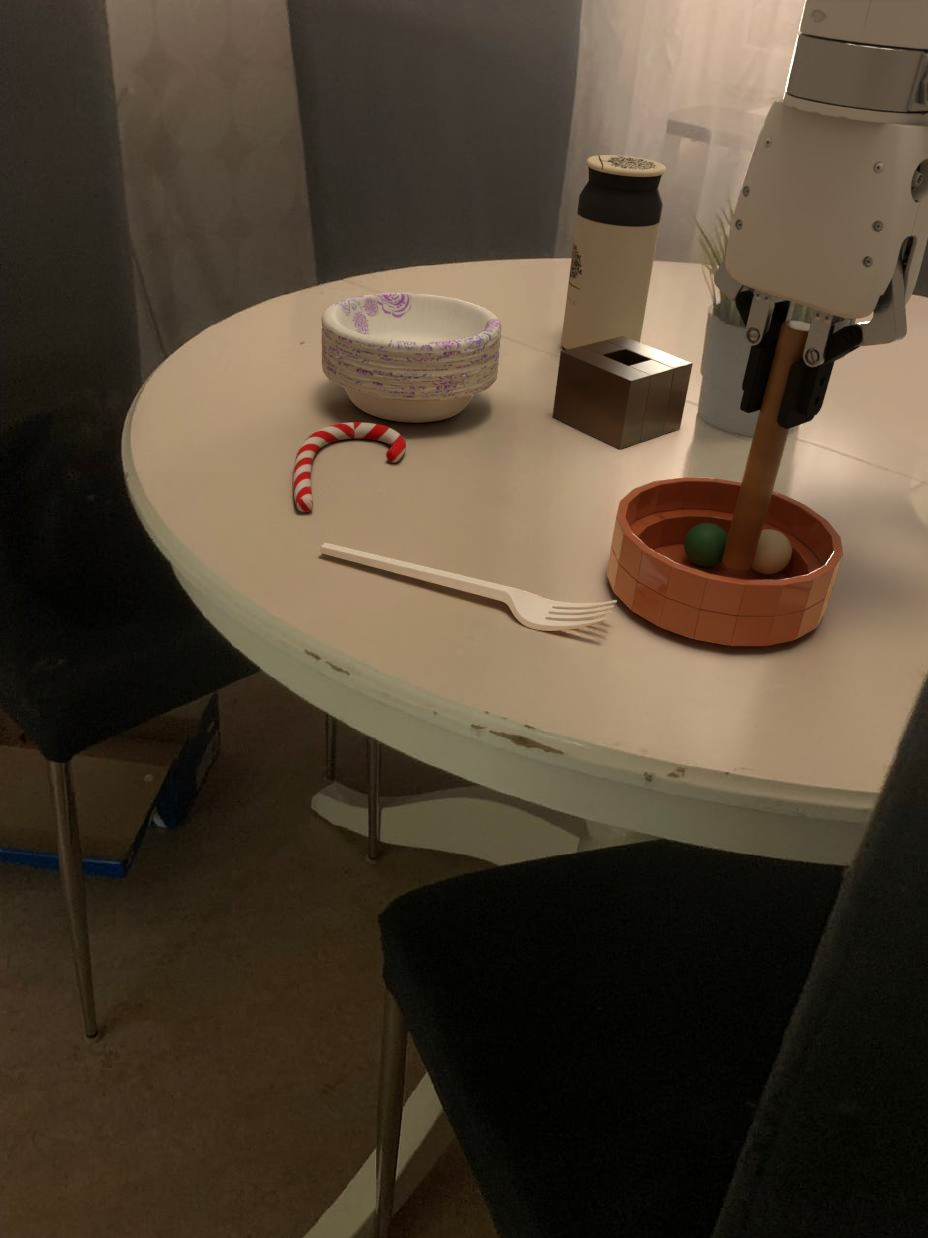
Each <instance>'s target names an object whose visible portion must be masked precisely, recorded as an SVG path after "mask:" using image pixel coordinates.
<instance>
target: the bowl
mask: <svg viewBox="0 0 928 1238" xmlns="http://www.w3.org/2000/svg"><path fill="white" fill-rule="evenodd" d="M741 483H742V481H736V480H730V479H729V480H728V479H723V478H716V477H691V476H690V477H689V476H682V477H675V478H674V477H673V478H666V479H659V480H653V481H651V482H648V483H646V484H642V485H640V486H637V487H635V488H633V489H632V490H631V491H630V492H628V493H627V494H626V495H625V496H624V497H623V498H622V499H621V500H619V502H618V508H617V511H616V515H615V517H616V518H615V522H614V527H613V532H612V540H611V544H610V545H611V546H610V551H609V556H608V557H609V558H608V563H607V568H606V569H607V570H606V576H607V579H608V582H609V584H610V587H611V589H612V592H613V594H614V595H615V596H616V597H617V598H618V599H619V600H620V601H622V602H623V604H624V605H625V606H626V607H627V608H628V609H629V610H630V611H632V612H633V613H635V614H636V615H638V616H640V617H641V618H643V619H645V620H647V621H648V622H650V623H652V624H653V625H655V626H656V627H659V628H661V629H663V630H666V631H669V632H671V633H675V634H677V635H679V636H683V637H685V638H688V639H691V640H695V641H702V642H706V643H711V644H718V645H723V646H730V647H768V646H769V647H770V646H773V645H778V644H783V643H788V642H792V641H796V640H799V639H800V638H801V637H803V636H804V635H805V636H806V635H807V634H808V633H811V632H813V630H815V629H817V628H818V626H819V625H820V622H821V621H822V619H824V616H825V615H826V613H827V609H828V607H829V603H830V599H831V596H832V592H833V590H834V586H835V584H836V579H837V576H838V573H839V570H840V566H841V563H842V560H843V556H844V551H843V544H842V537H841V536H840V534H839V533H838V532H837V530H836V529H835V528H834V527H833V525H832V524H831V523H830V521H829V520H827V519H826V518H825V517H824V516H822V515H821V514H819V513H817V512H816V511H815V510H814V509H812V508H811V507H809V506H808V505H806V504H804V503H802V502H800V501H798V500H796V499H793V498H791V497H789V496H787V495H785V494H783V493H780V492H778V491H775V490H773V492H772V496H771V499H770V503H769V507H768V510H767V514H766V518H765V521H764V525H763V529H762V530H766V529H771V530H776V531H779V532H781V533H782V534H784V535H785V536H786V537H787V538H788V540H789V542H790V544H791V548H792V555H791V559H790V561H789V563H788V565H787V566H786V567H785V568H784V569H783V570H781V571H779V572H777V573H774V574H762V573H759V572H757V571H755V570H754V569H753V568H752V567H751V569H749V570H746V571H738V570H734V569H731V568H728V567H727V566H725V565H724V564H723V562H721V563H719V564H717V565H715V566H713V567H700V566H697V565H695V564H694V563H692V562H691V561H690V560H689V559H688V557H687V555H686V553H685V550H684V541H685V537H686V535H687V533H688V532H689V531H690V530H691V529H692V528H693V527H694V526H696V525H698V524H701V523H713V524H716V525H718V526H720V527H721V528H722V529H723V530H724V531H725V532H726V534H727V536H728V534H729V530H730V526H731V522H732V518H733V514H734V510H735V506H736V502H737V498H738V494H739V490H740V487H741Z"/></svg>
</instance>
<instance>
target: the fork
mask: <svg viewBox="0 0 928 1238" xmlns="http://www.w3.org/2000/svg"><path fill="white" fill-rule="evenodd" d="M318 553H320V554H323V555H327V556H330V557H334V558H339V559H341V560H342V559H343V560H346V561H350V562H353V563H357V564H361V565H364V566H368V567H372V568H376V569H380V570H383V571H387V572H389V573H394V574H398V575H402V576H406V577H409V578H413V579H417V580H421V581H425V582H427V583H432V584H436V585H440V586H443V587H447V588H451V589H455V590H459V591H462V592H465V593H469V594H473V595H477V596H481V597H485V598H489V599H492V600H496V601H498V602H499V601H500V602H502V603H504V604H506V605H507V607H508V608H509V610H510V611H511V613H512V614H513V616H514V617H515V619H516V620H517V621H518V622H519V623H520V624H522V626H523V625H524V626H525V627H526V628H529V629H533V630H537V631H544V632H545V631H546V632H547V631H548V632H549V631H550V632H553V631H555V632H557V631H568V630H569V631H570V630H576V629H581V628H585V627H589V626H592V625H595V624H598V623H602V622H604V621H606V620H608V617H607V615H610V614H611V613H612V610H611V609H613V608H615V604H616V603H618V600H617V599H613V600H607V601H598V602H597V601H596V602H569V601H561V600H555V599H550V598H547V597H544V596H541V595H538V594H535V593H533V592H531V591H528V590H523V589H520V588H517V587H512V586H508V585H504V584H500V583H495V582H491V581H488V580H483V579H479V578H475V577H471V576H466V575H463V574H459V573H454V572H450V571H446V570H442V569H438V568H435V567H434V568H433V567H429V566H425V565H421V564H417V563H412V562H408V561H404V560H400V559H396V558H393V557H388V556H384V555H379V554H376V553H371V552H367V551H363V550H358V549H354V548H350V547H345V546H342V545H338V544H333V543H329V542H324V543H323V544H322V545H321V546H320V548H319V550H318Z"/></svg>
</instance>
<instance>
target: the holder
mask: <svg viewBox="0 0 928 1238" xmlns="http://www.w3.org/2000/svg"><path fill="white" fill-rule="evenodd" d="M693 364H694V363H692V362H691V361H688V360H685V359H683V358H680V357H677V356H675V355H672V354H671V353H668V352H665V351H662V350H660V349H657V348H655V347H652V346H649V345H647V344H644V343H643V342H641V341H640V342H637V341H634V340H632V339H629V338H627V337H624V336H620V337H616V338H612V339H608V340H605V341H600V342H596V343H592V344H588V345H584V346H580V347H576V348H572V349H568V350H567V349H563V350H560V353H559V360H558V368H557V369H558V370H557V377H556V385H555V394H554V401H553V409H552V418H554V419H556V420H557V421H560V422H562V423H564V424H566V425H568V426H570V427H572V428H575V429H577V430H579V431H581V432H583V433H585V434H587V435H589V436H591V437H593V438H595V439H597V440H599V441H601V442H603V443H605V444H607V445H610V446H612V447H614V448H617V449H619V450H622V449H625V448H629V447H631V446H634V445H637V444H639V443H642V442H646V441H649V440H651V439H655V438H657V437H660V436H662V435H665V434H669V433H672V432H674V431H677V430H680V429H681V427H682V421H683V416H684V410H685V406H686V399H687V395H688V389H689V385H690V379H691V376H692V370H693Z"/></svg>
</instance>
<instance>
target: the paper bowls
mask: <svg viewBox="0 0 928 1238" xmlns="http://www.w3.org/2000/svg"><path fill="white" fill-rule="evenodd" d="M320 321H321V341H320V343H321V369H322V372H323V374H324V375H325V377H326V378H327V379H328V380H329V381H331V382H332V383H333V384H335V385H337V386H339V387H340V388H343V389H344V390H345V392H346V394H347V396H348V398H349V399H350V401H351V403H353V404H354V406H356V407H357V408H358V409H359V410H361V411H362V412H364V413H366V414H368V415H371V416H373V417H377V418H379V419H383V420H387V421H392V422H400V423H410V424H411V423H413V424H420V423H422V424H423V423H432V422H440V421H443V420H447V419H450V418H452V417H455V416H456V415H458V414H460V413H461V412H463V410H465V409H466V408H467V407H468V405H469V403H470V402H471V400H472V398H473V396H474V395H476V394H479V393H482V392H484V391H486V390H488V389H490V388H491V386H493V384H495V382H496V381H497V379H498V373H499V371H498V370H499V369H498V368H499V364H500V363H499V361H500V348H501V340H502V324H501V321H500V319H499V318H498V316H496V315H495V314H494V313H493V312H492V311H490V310H489V309H487V308H485V307H483V306H481V305H479V304H475V303H473V302H470V301H466V300H464V299H463V300H462V299H459V298H455V297H449V296H442V295H437V294H427V293H419V292H418V293H417V292H382V293H371V294H364V295H363V294H362V295H357V296H351V297H348V298H345V299H341V300H339V301H336V302H334V303H333V304H330V305H329V306H328V307H327V308H326V309H324V311H323V312H322V315H321V318H320Z"/></svg>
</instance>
